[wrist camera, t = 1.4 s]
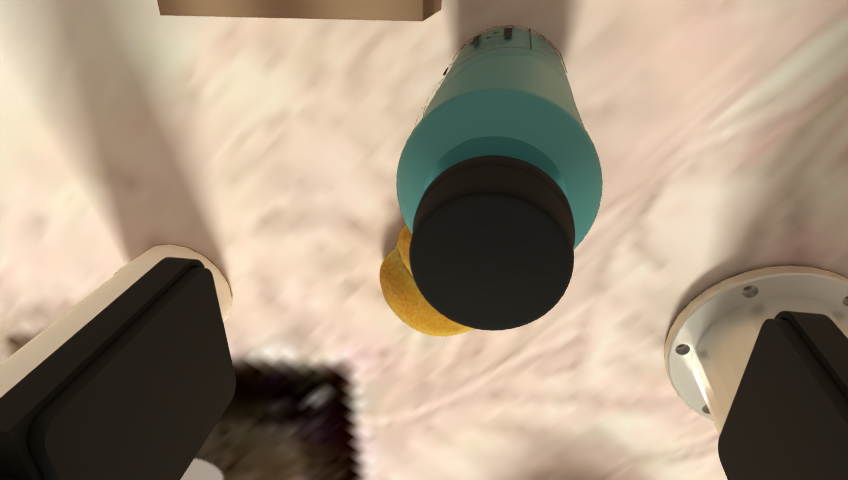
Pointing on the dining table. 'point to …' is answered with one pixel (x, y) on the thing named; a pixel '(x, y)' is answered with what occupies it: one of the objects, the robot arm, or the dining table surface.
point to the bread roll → (411, 293)
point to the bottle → (71, 322)
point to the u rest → (305, 9)
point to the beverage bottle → (498, 184)
